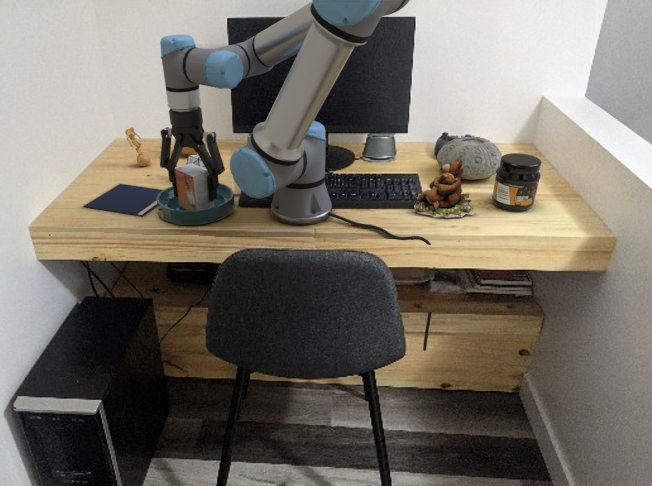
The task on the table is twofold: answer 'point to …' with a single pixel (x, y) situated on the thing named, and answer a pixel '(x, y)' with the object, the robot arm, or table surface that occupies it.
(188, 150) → the stress ball
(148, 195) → the book
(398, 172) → the table surface
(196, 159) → the game die
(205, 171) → the small box
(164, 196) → the bowl
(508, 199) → the supplement container
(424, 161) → the table surface
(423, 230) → the table surface
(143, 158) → the figurine
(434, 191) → the bear figurine
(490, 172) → the decorative shell
